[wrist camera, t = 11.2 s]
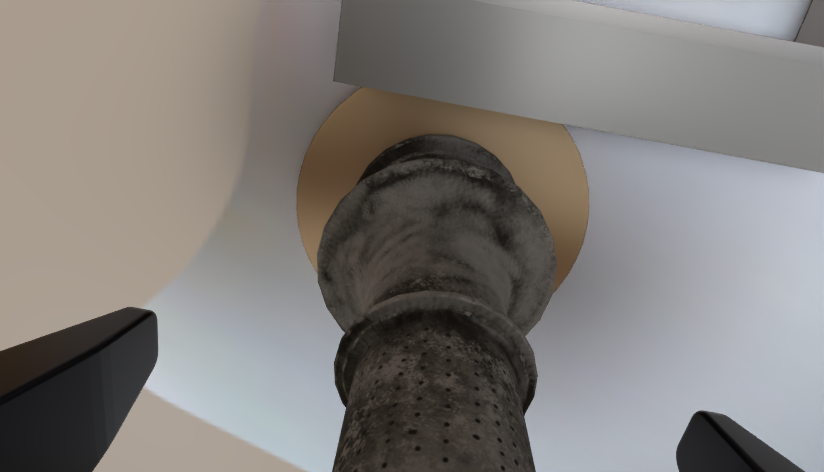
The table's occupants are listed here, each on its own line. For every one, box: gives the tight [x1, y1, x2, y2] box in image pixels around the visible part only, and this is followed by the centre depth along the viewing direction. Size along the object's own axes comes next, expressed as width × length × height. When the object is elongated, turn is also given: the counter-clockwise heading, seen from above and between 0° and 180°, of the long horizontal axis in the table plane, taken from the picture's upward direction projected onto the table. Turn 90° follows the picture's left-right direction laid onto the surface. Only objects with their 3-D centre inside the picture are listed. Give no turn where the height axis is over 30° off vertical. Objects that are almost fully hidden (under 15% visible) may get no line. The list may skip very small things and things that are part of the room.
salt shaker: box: [317, 134, 557, 472], centre depth 10 cm, size 6×6×12 cm
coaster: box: [297, 87, 589, 294], centre depth 16 cm, size 9×9×1 cm
